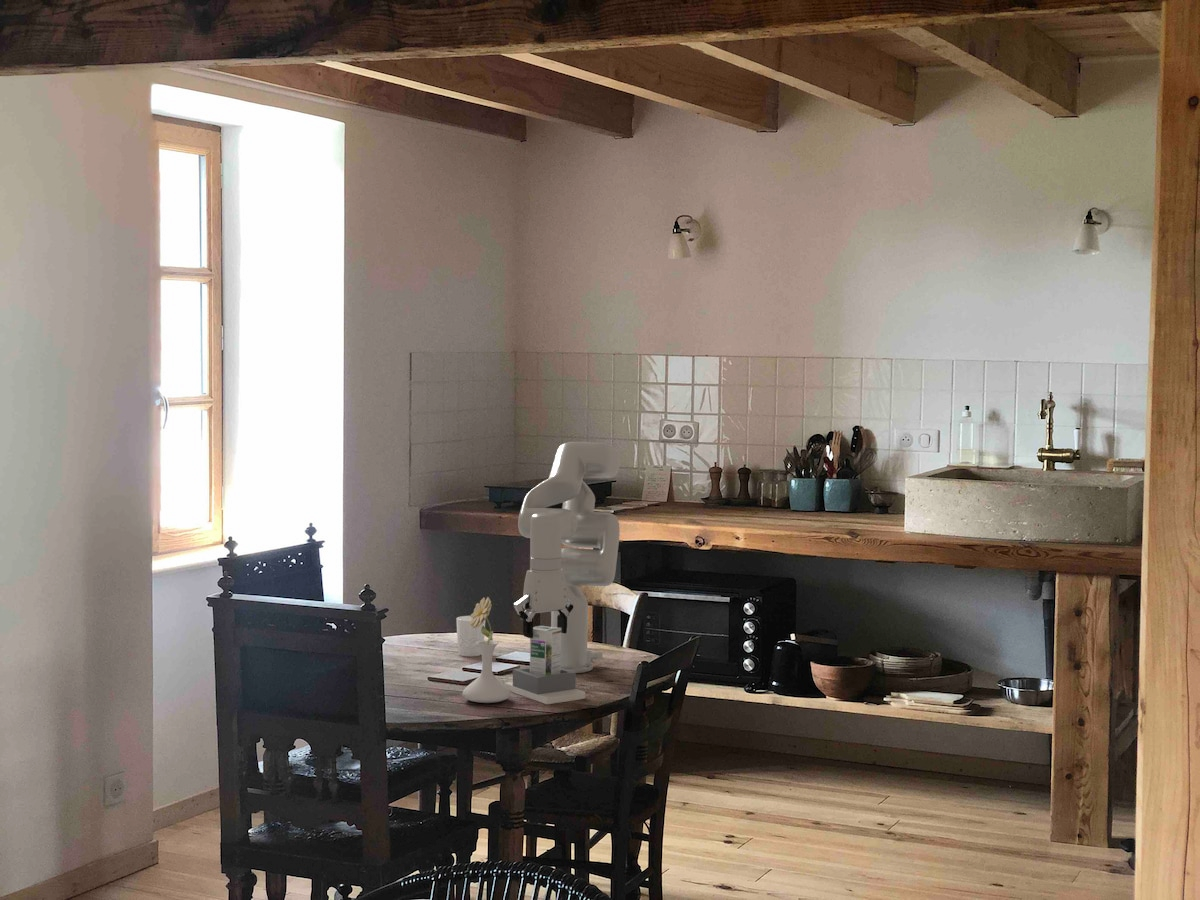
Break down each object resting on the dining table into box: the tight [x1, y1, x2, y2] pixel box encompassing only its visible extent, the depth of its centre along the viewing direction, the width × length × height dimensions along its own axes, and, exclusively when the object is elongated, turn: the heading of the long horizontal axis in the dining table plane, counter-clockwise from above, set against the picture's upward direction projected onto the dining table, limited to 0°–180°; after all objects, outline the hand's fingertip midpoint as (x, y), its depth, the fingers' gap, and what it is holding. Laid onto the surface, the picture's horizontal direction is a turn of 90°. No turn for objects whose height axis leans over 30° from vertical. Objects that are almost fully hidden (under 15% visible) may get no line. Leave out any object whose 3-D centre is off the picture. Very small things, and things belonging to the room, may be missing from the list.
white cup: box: [456, 615, 486, 658], centre depth 375 cm, size 8×8×10 cm
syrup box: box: [529, 625, 561, 676], centre depth 329 cm, size 6×6×14 cm
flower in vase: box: [462, 596, 512, 704], centre depth 320 cm, size 13×11×25 cm
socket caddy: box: [503, 666, 586, 705], centre depth 330 cm, size 11×19×6 cm, turn 36°
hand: (545, 634), depth 330 cm, fingers open, 9 cm apart
